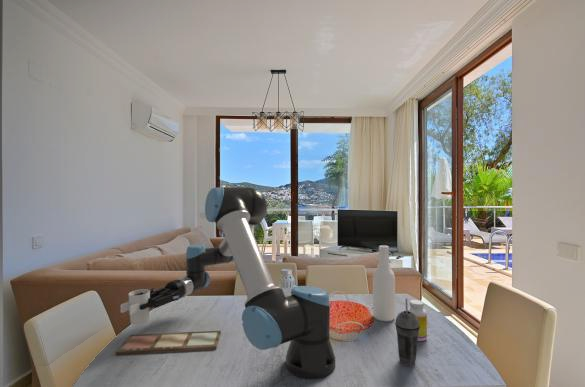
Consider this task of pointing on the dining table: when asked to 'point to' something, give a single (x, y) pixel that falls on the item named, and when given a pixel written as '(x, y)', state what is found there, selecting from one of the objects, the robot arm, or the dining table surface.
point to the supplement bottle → (419, 318)
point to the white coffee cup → (142, 298)
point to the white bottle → (383, 288)
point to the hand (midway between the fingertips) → (125, 309)
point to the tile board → (170, 342)
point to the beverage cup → (407, 336)
